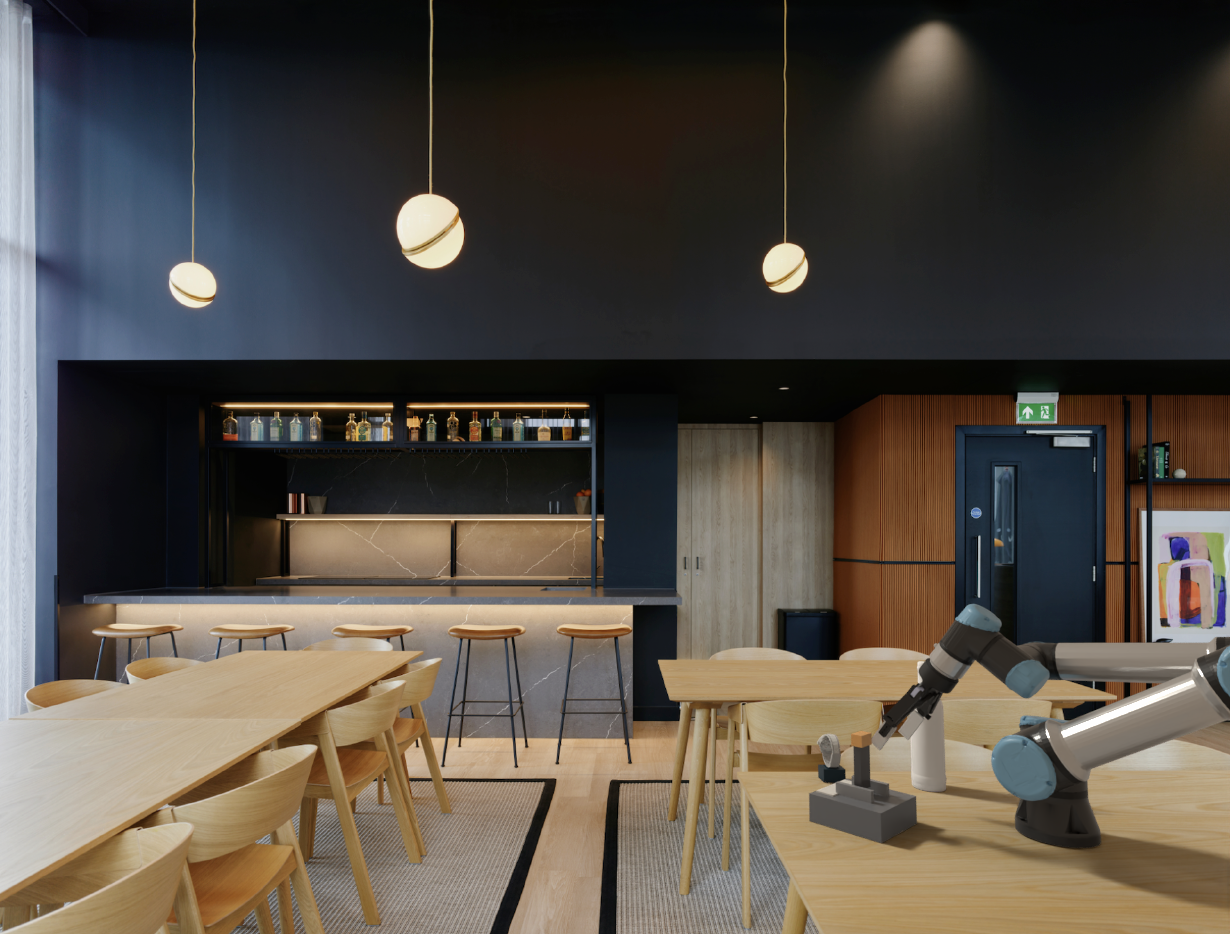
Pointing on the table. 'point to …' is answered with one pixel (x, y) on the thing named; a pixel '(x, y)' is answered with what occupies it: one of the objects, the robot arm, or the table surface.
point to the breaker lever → (861, 758)
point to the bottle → (929, 751)
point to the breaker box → (863, 809)
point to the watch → (830, 759)
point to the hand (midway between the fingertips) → (889, 740)
